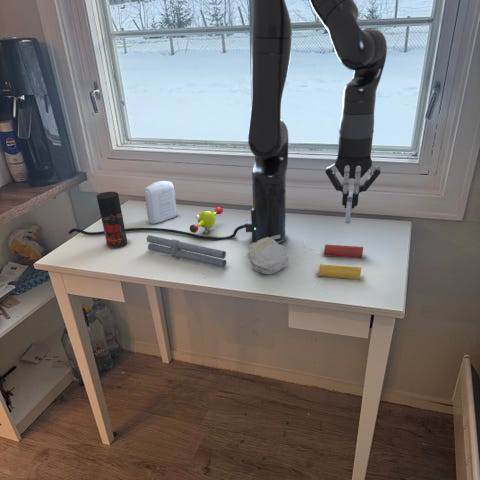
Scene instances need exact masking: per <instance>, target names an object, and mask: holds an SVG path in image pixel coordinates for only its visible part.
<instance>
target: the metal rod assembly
mask: <svg viewBox="0 0 480 480" xmlns="http://www.w3.org/2000/svg"><path fill="white" fill-rule="evenodd" d="M146 242H147V243H148V244H147V250H149V251H152V252H157V253H160V254H165V255H169V256H171V257H174V258H178V259H179V258H181V259H186V260H190V261H194V262H198V263H202V264H206V265H211V266H216V267H220V268H226V266H227V260H226V259H225V258H226V257H227V251H225V250H220V249H217V248H211V247H207V246H202V245H199V244H193V243H190V242H184V241H181V240H179V239H174V238H171V239H169V238H166V237H165V238H164V237H159V236H155V235H151V234H148V235H147V236H146Z"/></svg>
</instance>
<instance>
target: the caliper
mask: <svg viewBox="0 0 480 480" xmlns="http://www.w3.org/2000/svg"><path fill="white" fill-rule="evenodd" d="M352 197H353V191H349V196H348V197H347V207H346V208H345V217H344V219H345V221H344V224H350V223H351V212H352Z"/></svg>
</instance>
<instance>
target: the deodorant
mask: <svg viewBox="0 0 480 480" xmlns="http://www.w3.org/2000/svg"><path fill="white" fill-rule="evenodd" d="M96 200H97V204H98V210H99V214H100V218H101V223H102V227H103V228H102V229H103V231H104V233H105V234H104V236H105V241H106V246H107V248H109V249H121V248H124V247H126V246H127V245H128V238H127V231H126V232H125V229H126V226H125V223H124V222H125V221H124V216H123V211H122V206H121V202H120V196H119V193H118V191H117V192H116V191H104V192H101V193H98V194H97V195H96Z"/></svg>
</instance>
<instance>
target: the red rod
mask: <svg viewBox="0 0 480 480" xmlns="http://www.w3.org/2000/svg"><path fill="white" fill-rule="evenodd" d="M363 254H364V246H356V245H355V246H354V245H343V244H342V245H341V244H340V245H339V244H328V243H327V244H326V243H325V245H324V250H323V256H325V257H338V258H339V257H341V258H352V259H363Z"/></svg>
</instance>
